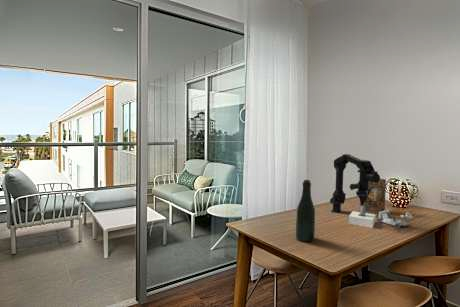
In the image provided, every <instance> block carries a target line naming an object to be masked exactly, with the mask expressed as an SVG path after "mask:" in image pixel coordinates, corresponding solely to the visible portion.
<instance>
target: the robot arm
mask: <svg viewBox="0 0 460 307" xmlns="http://www.w3.org/2000/svg"><path fill="white" fill-rule="evenodd" d="M348 163H351V164H353V165H355V166H356V167H357V169H358V170H357V173H359V175H358V176H359V181H358V182H357V183H351V184H349V190H350V191H353V190H356V192H355V194H356V196H357V197H359V204H360V203H361V205H363V204H364V202H365V201H366V199H367V197H368V195H369V193H370V192H369V191H371V188H370V187H369V181H371V182H375V183H377V182H379V180H380V179H381V176H380V174H379V172H378V171H376V170H375V168H374V166H373V163H372V161H370V160H366V159H360V158H358V157H355V156H354V155H352V154H350V153H347V154H346V153H344V154H342V155H341V156H339V157H337V158H335V159H334V160H333V168H334V169H335V190H334V191H333V193H332V197H331V198H330V199H329V203H330V204H331V205H332V210H331V212H332V213H337V214H338V213H339V214H341V213H342V212H343V210H342V209H341V208H342V204H344V203H345V201H346V193H345V192H344V190H343V189H344V171H345V169H346V168H347V164H348Z"/></svg>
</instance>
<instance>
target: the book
mask: <svg viewBox="0 0 460 307" xmlns="http://www.w3.org/2000/svg"><path fill="white" fill-rule="evenodd" d="M386 186H387V179H384V178H380V180H379V182H377V183H375V182H371V181H369V187H370V188H371V191H369V192H370V193H369V195H368V197H367V199H366V201H365V202H364V204H363V205H361V203H360V202H359V207H360V206H366V212H365V213H371V212H372V213H371V214H378V213H379V212H381V211H386V209H385V208H386V206H385V205H386V190H387V189H386V188H387V187H386Z"/></svg>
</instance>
